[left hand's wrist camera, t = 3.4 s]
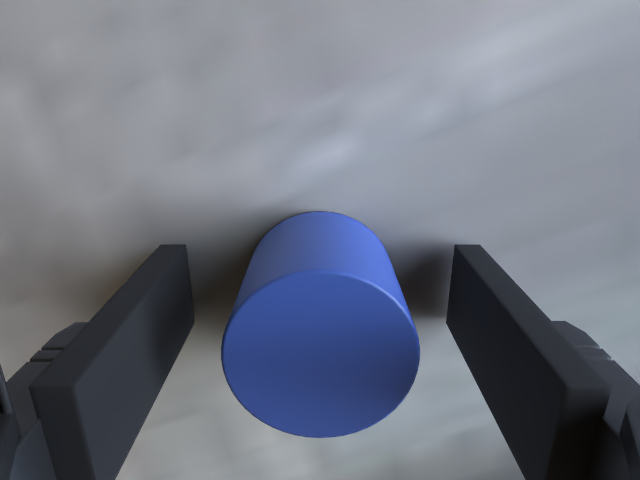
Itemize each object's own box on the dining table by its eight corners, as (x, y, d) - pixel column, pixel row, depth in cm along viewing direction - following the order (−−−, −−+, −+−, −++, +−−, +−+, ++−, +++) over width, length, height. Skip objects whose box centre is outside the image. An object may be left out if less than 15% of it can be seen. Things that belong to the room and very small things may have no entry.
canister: (255, 201, 13) (226, 257, 9) (404, 221, 13) (441, 284, 9) (243, 331, 15) (214, 428, 11) (377, 347, 15) (398, 448, 11)
